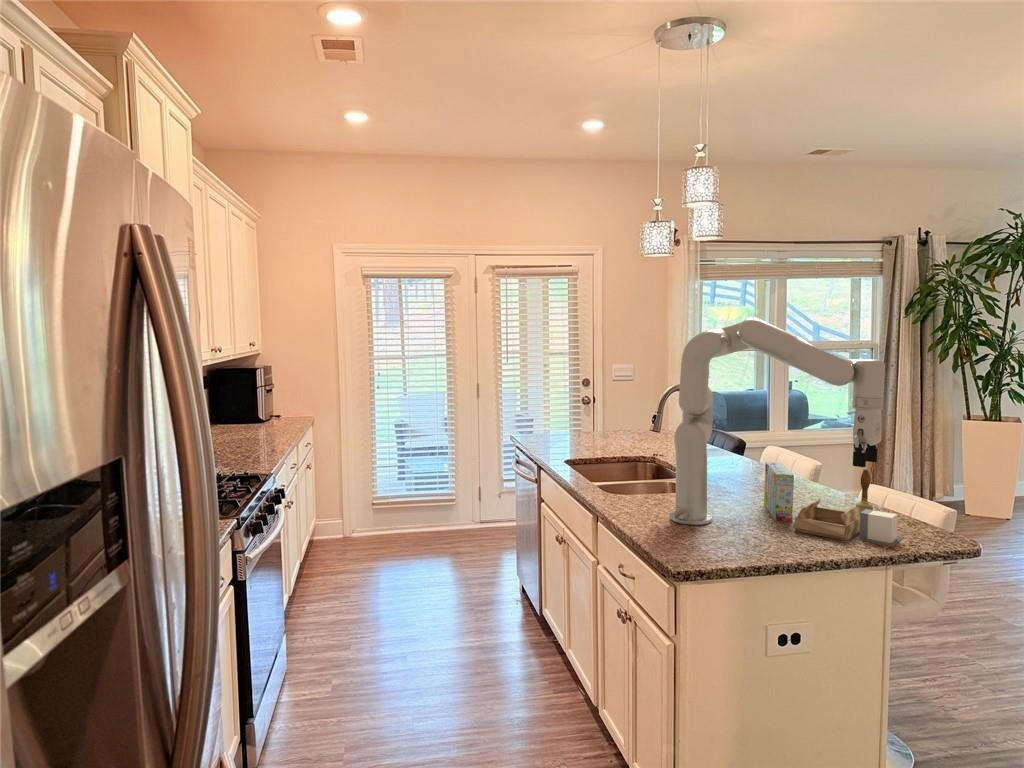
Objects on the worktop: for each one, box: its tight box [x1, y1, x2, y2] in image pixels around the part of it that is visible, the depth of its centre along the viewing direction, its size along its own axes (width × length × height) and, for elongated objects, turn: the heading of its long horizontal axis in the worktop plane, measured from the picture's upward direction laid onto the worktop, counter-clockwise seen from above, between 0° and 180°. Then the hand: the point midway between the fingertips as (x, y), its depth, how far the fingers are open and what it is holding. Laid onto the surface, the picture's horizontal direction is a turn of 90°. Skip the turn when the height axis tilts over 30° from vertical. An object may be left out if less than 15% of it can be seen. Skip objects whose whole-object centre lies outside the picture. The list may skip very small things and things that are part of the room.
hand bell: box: [855, 469, 874, 512], centre depth 204 cm, size 8×8×16 cm
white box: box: [859, 509, 898, 543], centre depth 185 cm, size 5×8×7 cm, turn 46°
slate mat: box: [853, 533, 904, 547], centre depth 185 cm, size 10×10×1 cm
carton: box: [793, 498, 861, 541], centre depth 194 cm, size 20×14×7 cm
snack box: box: [763, 461, 795, 522], centre depth 213 cm, size 21×6×15 cm, turn 168°
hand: (864, 464), depth 186 cm, fingers open, 9 cm apart
